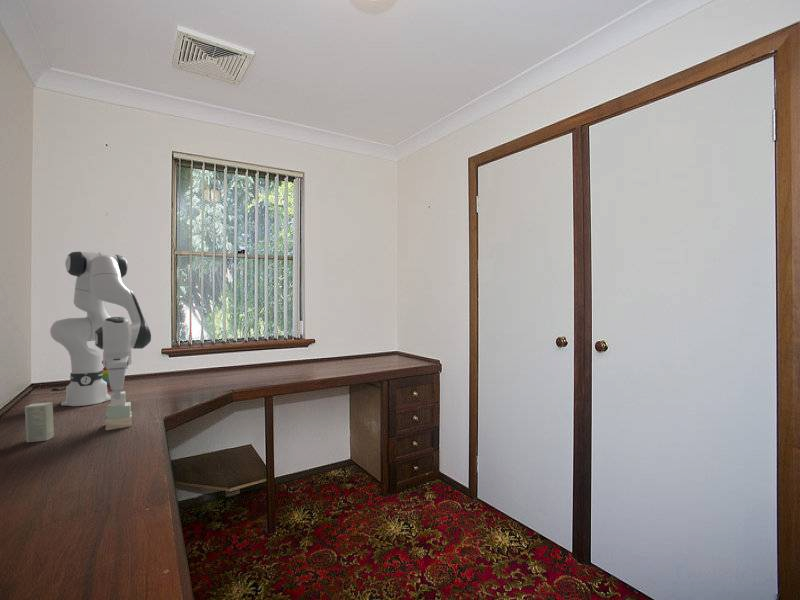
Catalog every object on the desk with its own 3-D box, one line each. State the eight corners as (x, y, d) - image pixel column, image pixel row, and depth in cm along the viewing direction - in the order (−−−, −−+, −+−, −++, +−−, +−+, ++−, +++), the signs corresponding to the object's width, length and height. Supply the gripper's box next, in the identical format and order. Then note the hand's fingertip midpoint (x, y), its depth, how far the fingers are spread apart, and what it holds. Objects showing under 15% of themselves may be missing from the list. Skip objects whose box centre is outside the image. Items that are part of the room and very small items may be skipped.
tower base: (106, 425, 158) (106, 414, 158) (131, 421, 162) (131, 411, 162) (105, 431, 151) (105, 420, 151) (131, 427, 156) (131, 416, 156)
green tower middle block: (108, 414, 158) (108, 404, 158) (130, 412, 162) (130, 401, 162) (107, 419, 152) (106, 408, 152) (129, 416, 156) (129, 405, 156)
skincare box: (54, 436, 144) (54, 401, 144) (46, 441, 140) (46, 405, 140) (33, 438, 143) (32, 403, 143) (24, 442, 139) (24, 406, 139)
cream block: (111, 404, 158) (111, 392, 157) (125, 402, 160) (125, 391, 160) (110, 407, 154) (110, 395, 154) (125, 405, 156) (125, 393, 156)
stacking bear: (103, 387, 223) (103, 354, 222) (125, 386, 226) (125, 353, 225) (96, 392, 212) (95, 357, 212) (119, 390, 215) (118, 356, 215)
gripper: (108, 357, 164) (109, 392, 164) (105, 365, 146) (106, 404, 147) (127, 356, 167) (128, 390, 167) (127, 363, 150) (127, 401, 150)
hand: (118, 397), depth 157 cm, fingers open, 5 cm apart
